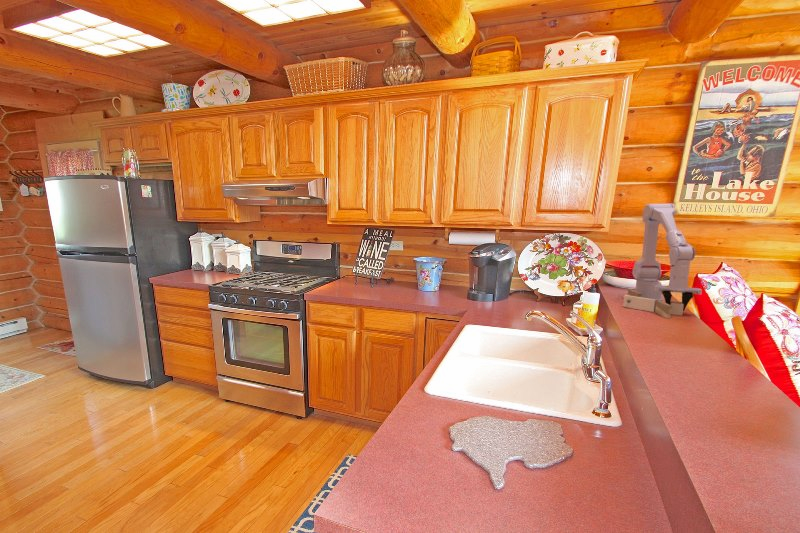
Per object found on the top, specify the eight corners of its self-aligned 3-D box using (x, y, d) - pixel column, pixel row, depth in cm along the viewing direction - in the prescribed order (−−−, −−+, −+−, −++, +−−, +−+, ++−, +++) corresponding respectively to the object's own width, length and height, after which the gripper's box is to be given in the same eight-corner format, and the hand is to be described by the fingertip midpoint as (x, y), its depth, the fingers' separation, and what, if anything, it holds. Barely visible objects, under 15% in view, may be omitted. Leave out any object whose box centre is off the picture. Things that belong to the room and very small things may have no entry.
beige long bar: (630, 300, 162) (631, 289, 161) (670, 318, 134) (672, 305, 134) (627, 300, 162) (628, 289, 161) (666, 318, 134) (668, 305, 134)
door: (623, 306, 151) (625, 294, 151) (657, 312, 142) (659, 300, 141) (622, 307, 150) (623, 295, 149) (656, 313, 141) (657, 301, 140)
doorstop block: (667, 311, 143) (668, 300, 143) (679, 312, 142) (680, 301, 141) (669, 314, 140) (671, 303, 139) (682, 315, 138) (683, 304, 137)
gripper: (658, 276, 138) (655, 310, 140) (706, 279, 132) (701, 314, 134) (655, 274, 144) (651, 306, 146) (699, 276, 138) (695, 310, 140)
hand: (675, 310), depth 140 cm, fingers closed on doorstop block, 4 cm apart
